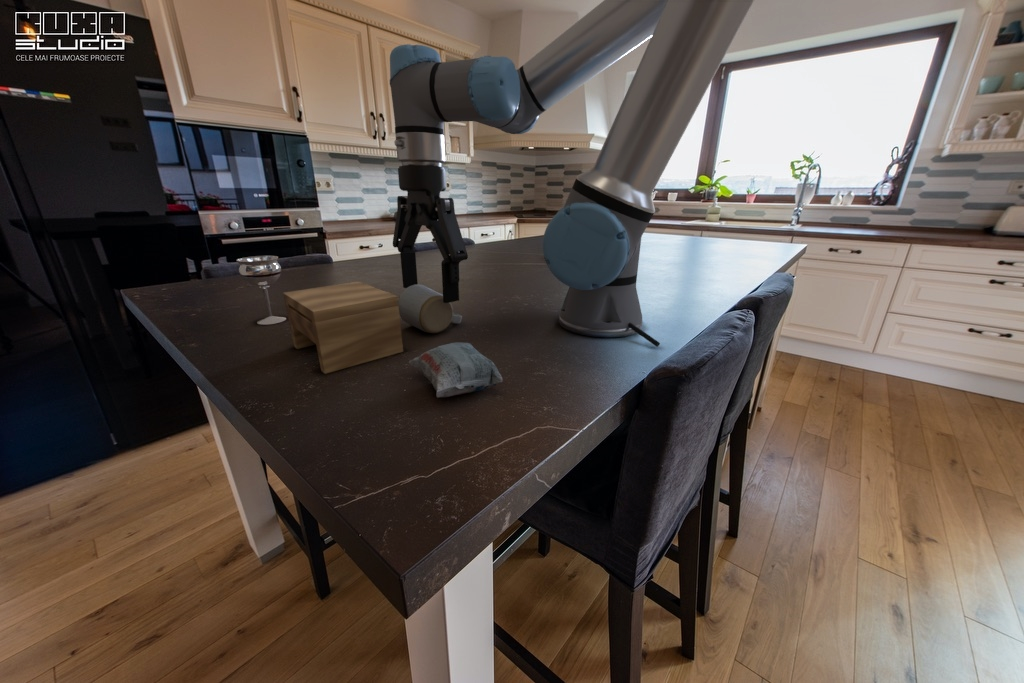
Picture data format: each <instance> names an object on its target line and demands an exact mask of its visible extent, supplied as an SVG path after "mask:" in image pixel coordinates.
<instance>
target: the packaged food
mask: <svg viewBox="0 0 1024 683" xmlns="http://www.w3.org/2000/svg"><path fill="white" fill-rule="evenodd" d="M408 364H409V365H411V366H412V367H413V368H415V369H417V370H418V372H419V373H420V374H422V375H423V376H424V377H425V378H426V379H428V381H429V382H430V383H431V384H432V386H433V388H434V390H435V392H436V398H450V397H454V396H459V395H464V394H470V393H473V392H478V391H482V390H483V391H484V390H488V389H491V388H494V387H495V386H496V385H498V384H501V383H503V381H504V378H503V377H502V375H501V373H500V371H499V369H498V367H497V365H496V364H495V363H494V362H493V361H492V360H491V359H489V358H488V357H486V356H484V355H483V354H482V353H481V352H479V350H477V349H476V348H475V347H474V346H473V345H472V343H470V342H457V341H455V342H451V343H450V342H449V343H447V344H442V345H438V346H436V347H434V348H431V349H428V350H427V351H424V352H423V353H422V354H420V355H419V356H416V357H414V358H413V359H411V360H409V361H408Z"/></svg>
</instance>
